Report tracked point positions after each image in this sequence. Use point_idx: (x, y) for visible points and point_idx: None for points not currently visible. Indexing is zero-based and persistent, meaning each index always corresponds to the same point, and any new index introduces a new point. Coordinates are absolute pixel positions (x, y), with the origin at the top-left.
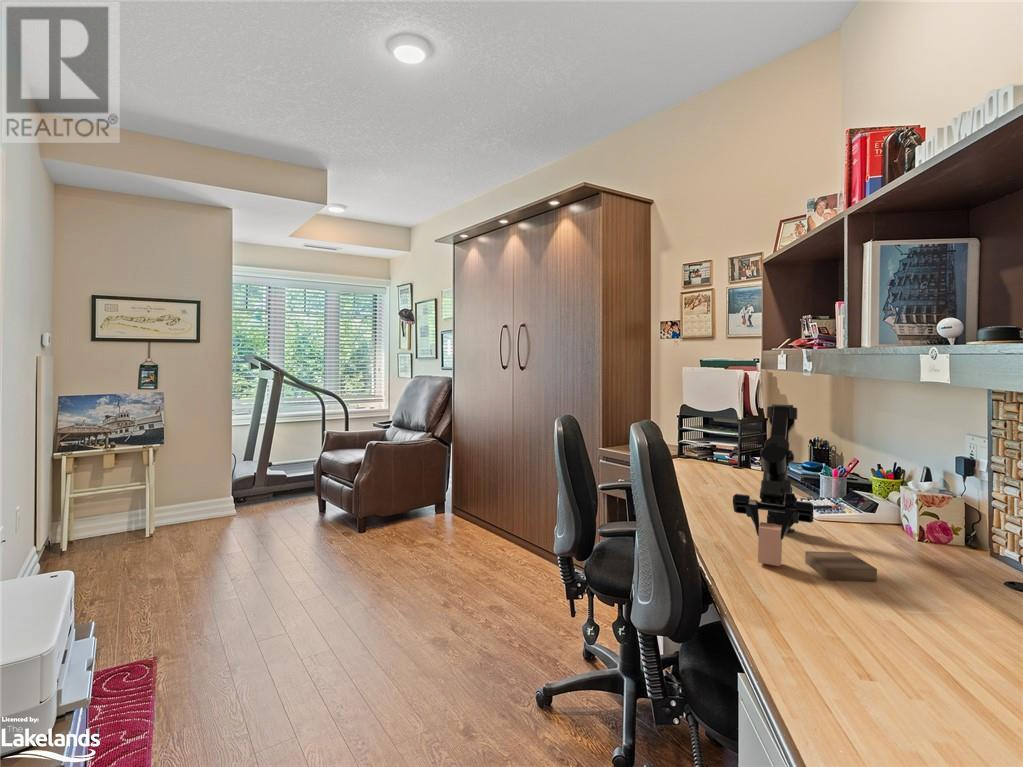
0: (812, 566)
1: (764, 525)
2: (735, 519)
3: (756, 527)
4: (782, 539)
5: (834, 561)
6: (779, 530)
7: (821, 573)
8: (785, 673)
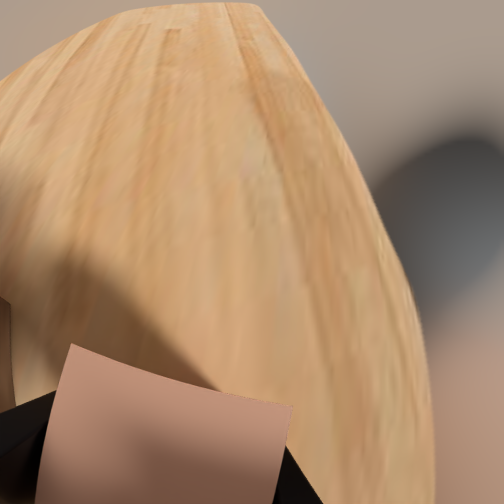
0: None
1: (217, 497)
2: None
3: (298, 477)
4: None
5: None
6: (82, 348)
7: (7, 350)
8: (255, 29)
